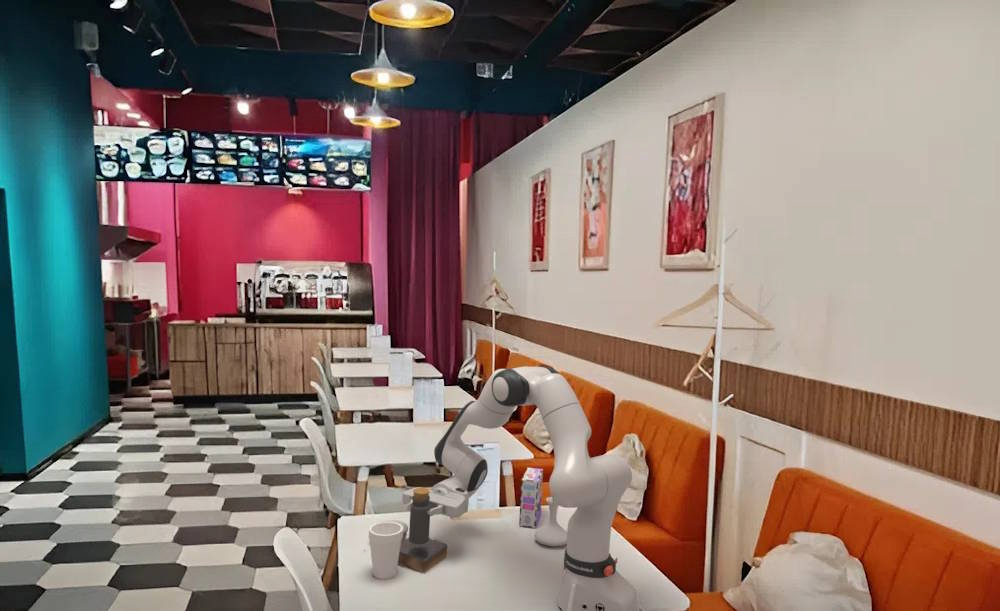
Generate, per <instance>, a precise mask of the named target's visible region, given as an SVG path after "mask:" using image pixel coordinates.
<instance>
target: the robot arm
mask: <svg viewBox="0 0 1000 611" xmlns="http://www.w3.org/2000/svg"><path fill="white" fill-rule="evenodd" d="M534 405H535V406H536V407H537V409H538V410H539V414H540V416H541V417H540V418H541V419H542V421H543V424H544V426H545V428H546V431H547V434H548V437H549V438H550V442H551V445H552V447H553V448H552V449H553V453H554V454H553V455H554V463H555V465H554V464H553V471H552V473H551V475H550V477H549V480H548V482H549V483H548V487H549V488H548V489H549V492H550V497H552V498H553V499H554V501H555V502H556V503H557V504H558V505H559V507H562V508H568V509H571V508H573V509H575V508H576V509H575V510H574V512H573V513H572V515H571V516H570V517H569V519H568V522H567V531H566V532H567V543H566V548H565V549H564V557H563V571H564V574H563V581H562V585H561V589H560V592H559V596H558V598H557V606H558V605H559V606H558V608H559V607H560V608H561V609H562V610H563V611H646V609H645V606H644V605H643V604H641V603H639V602H638V600H637V593H636V590H635V588H634V586H633V585H632V584H631V583H629V582H628V581H627V579H626V578H625V577H624V576H622V575H621V574H620V573H619V572H618V570H617V563H618V559H619V558H618V557H616V558H615V559H614V558H613V557H612V555H611V553H610V545H611V534H612V526H613V522H614V518H615V515H616V512H617V509H618V506H619V504H620V502H621V500H622V497H623V496H624V495H625V494H624V493H625V492H626V491H627V490H628V489H629V487H630V486H631V483H632V479H633V472H632V468H631V466H630V464H629V463H628V461H627V460H626V459H625V458H624V457H622V456H620V455H616V454H615V455H614V454H602V455H601V454H600V455H598V456H594V457H590V455H589V450H588V441H589V439H590V438H591V436H592V427H591V425H590V422H589V421H588V418H587V416H586V413H585V412H584V409H583V407H582V405H581V403H580V400H579V399H578V396H577V395H576V392H575V391H574V389H573V388H572V387H571V385H570V384H569V382H568V380H567V379H566V378H565V377H564V376H563V375H562V374H560V373H559V372H558V371H557V370H556V369H555V368H553V367H551V366H547V365H546V366H545V365H541V366H540V365H539V366H526V365H525V366H519V367H514V368H498V369H496V370H494V371H493V373H492V374H491V375H490V377H489V378H488V379H487V381H486V383H485V384H484V386H483V388H482V390H481V392H480V395H479V397H478V399H476V400H470V401H469V402H468V403H466V404H465V405H464V406H463V407H462V408H461V410H460V411H459V412H458V414H457V415H456V417H455V418H454V420H453V422H452V423H451V425H450V426H449V427H448V429H447V431H446V432H445V434H444V435H443V436H442V437H441V439H440V440H439V441H438V442H437V444H436V446H435V447H434V451H433V454H434V460H435V461H436V462H437V463H438V464H440V466H442V467H444V468H446V469H447V470H448V471H450V472H451V473H452V474H453V475H451V476H450V477H449V478H446V479H444V480H442V481H440V482H438V483H436V484H434V485H433V486H432V488H431V489H429V488H427V489H428V490H429V496H430V500H429V501H428V503H429V504H430V508H429V509H428V510H427V515H428V516H430V517H433V516H436V515H437V516H438V515H443V516H447V517H450V518H454V519H455V518H460V517H462V516H463V515H464V514H466V513H467V512H468V511H469V499H470V498H471V497H472V496H473V495H475V494H476V492H477V491H478V490H479V488H481V486H482V485H483V483H484V481H485V480H486V477H487V475H488V470H489V469H488V462H487V460H486V459H485V458H484V457H483V456H482V455H481V454H479V453H478V452H476V450H473V449H472V448H471V447H470V446H468V445H467V444H466V443H465V442H464V441H463V439H462V438H461V437H462V436H463V434H464V432H465V431H466V429H467V428H468V426H469V425H473V426H476V427H477V426H478V427H480V428H481V429H482V428H483V429H488V430H491V429H493V430H495V429H498V428H501V427H502V426H504V425H506V424H507V423H508V421H509V420H510V417H511V416H512V414H513V411H514V409H515V407H517V406H534ZM417 488H422V487H421V486H419V487H413V488H409V489H407V490H405V491H403V492H402V495H401V496H402V504H403V505H406V510H407V511H410V509H411V504H412V503H414V501H413V500H412V497H413V495H414V492H413V490H414V489H417ZM560 608H559V609H560ZM561 609H560V610H561ZM562 610H561V611H562Z"/></svg>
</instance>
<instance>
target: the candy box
mask: <svg viewBox="0 0 1000 611" xmlns="http://www.w3.org/2000/svg"><path fill="white" fill-rule="evenodd" d="M526 468H527V469H526V471H525V472H524V474H523V476H522V478H521V482H520V484H521V485H520V502H519V522H518V524H519V525H518V526H519V527H523V528H529V529H536V528H537V525H538V523H539V519H540V517H541V514H542V497H543V473H544V472H543V471H544V469H543V468H536V467H526Z"/></svg>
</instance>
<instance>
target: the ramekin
mask: <svg viewBox="0 0 1000 611" xmlns="http://www.w3.org/2000/svg"><path fill="white" fill-rule="evenodd" d="M380 522H396V523H398V524H401V525H402V527H403V537H402V540H401V542H403V541H404V540H406V539H407V534H408V531H409V525H408V524H407V523H406V522H404V521H400V520H395V519H388V520H387V519H386V520H382V521H378V522H377V523H380Z"/></svg>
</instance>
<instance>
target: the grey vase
mask: <svg viewBox="0 0 1000 611" xmlns="http://www.w3.org/2000/svg"><path fill="white" fill-rule="evenodd" d="M554 465H555V462H553V466H554ZM545 501H546V502H547V505H548V509H549V518H548V521H547V522H546V523H545V524H544V525H542V526H540V527H539V528H538V529H536V531H535V533H534V535H533V536H534V539H535V540H536V541H537V542H538V543H539V544H542V545H545V546H548V547H559V546H564V545H567V532H568V531H567V530H566V529H565V528H563V527H562V525H560V524H559V523H558V521H557V514H558V509H559V507H560V505H558V504H557V503H556V502H555V501H554V499H553V498H552V496H548V497H546V499H545Z"/></svg>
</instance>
